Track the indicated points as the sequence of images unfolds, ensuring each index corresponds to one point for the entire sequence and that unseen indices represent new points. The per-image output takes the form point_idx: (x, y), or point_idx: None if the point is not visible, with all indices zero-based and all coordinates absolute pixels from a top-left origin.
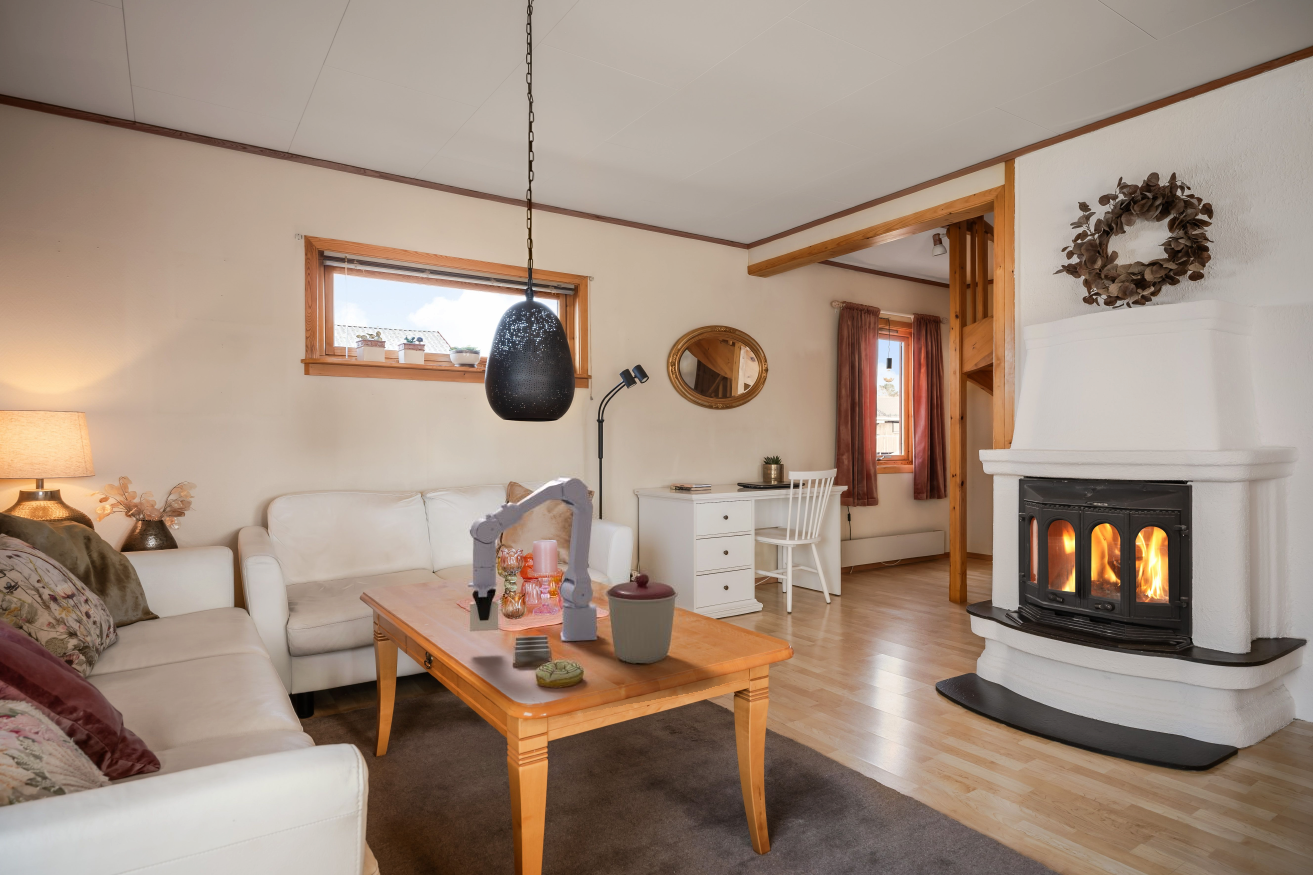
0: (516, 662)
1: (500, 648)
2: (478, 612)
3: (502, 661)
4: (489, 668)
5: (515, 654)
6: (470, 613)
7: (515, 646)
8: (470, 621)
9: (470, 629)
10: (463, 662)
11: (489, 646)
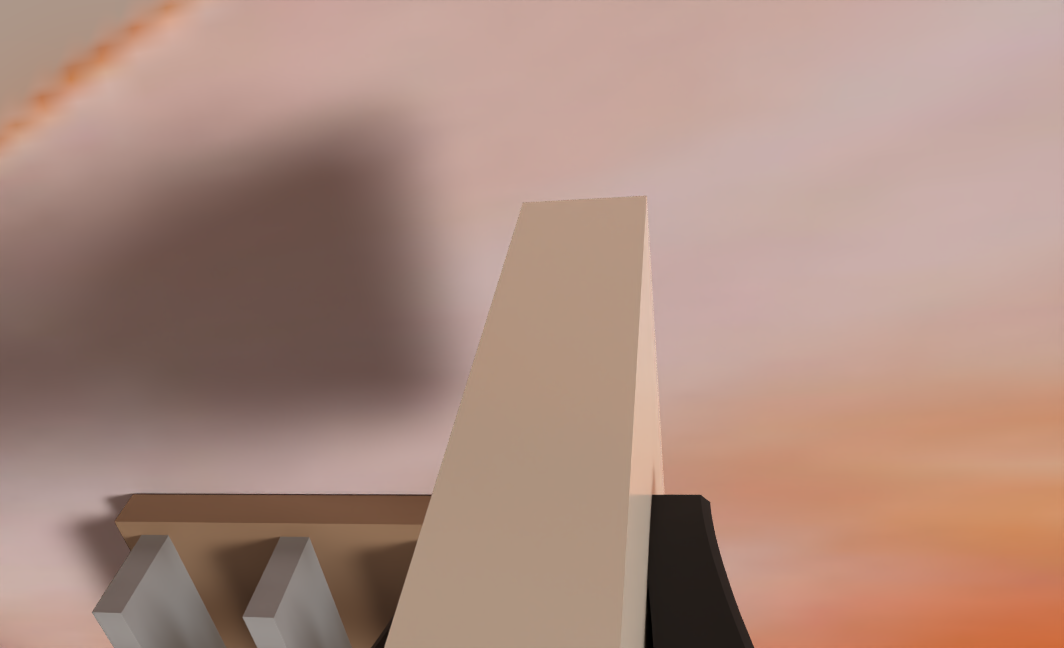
0: (135, 542)
1: (719, 384)
2: (389, 621)
3: (268, 420)
4: (46, 332)
5: (108, 591)
6: (457, 440)
7: (253, 616)
8: (494, 314)
9: (520, 224)
10: (164, 46)
11: (835, 268)
